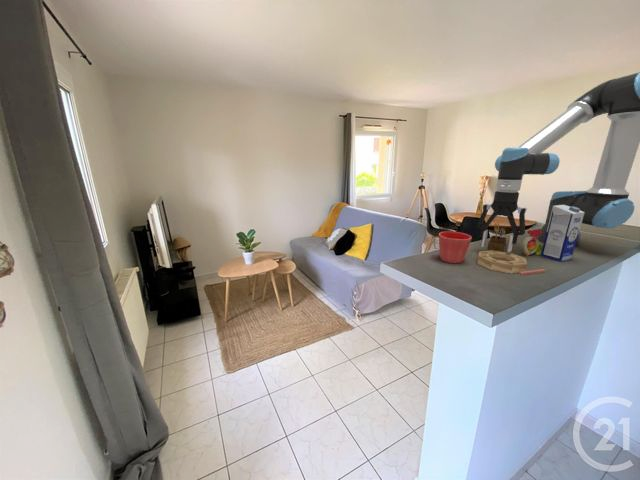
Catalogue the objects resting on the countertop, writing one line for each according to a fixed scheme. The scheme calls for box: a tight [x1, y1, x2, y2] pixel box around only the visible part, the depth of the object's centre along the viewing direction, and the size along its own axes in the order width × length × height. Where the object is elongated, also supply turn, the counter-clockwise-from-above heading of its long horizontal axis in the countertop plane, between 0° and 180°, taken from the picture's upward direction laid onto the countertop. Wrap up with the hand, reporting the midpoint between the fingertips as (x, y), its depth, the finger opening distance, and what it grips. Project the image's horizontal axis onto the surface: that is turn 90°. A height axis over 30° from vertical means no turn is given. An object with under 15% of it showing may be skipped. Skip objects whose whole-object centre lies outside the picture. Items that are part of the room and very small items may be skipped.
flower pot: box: [438, 230, 473, 264], centre depth 99 cm, size 11×11×10 cm
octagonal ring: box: [477, 250, 528, 274], centre depth 94 cm, size 14×14×3 cm
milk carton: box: [540, 205, 585, 263], centre depth 99 cm, size 7×7×20 cm
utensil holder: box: [486, 222, 507, 252], centre depth 104 cm, size 6×6×12 cm
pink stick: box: [518, 268, 547, 276], centre depth 88 cm, size 10×1×1 cm, turn 103°
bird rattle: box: [521, 228, 544, 257], centre depth 104 cm, size 6×11×9 cm
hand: (496, 248), depth 105 cm, fingers open, 8 cm apart
